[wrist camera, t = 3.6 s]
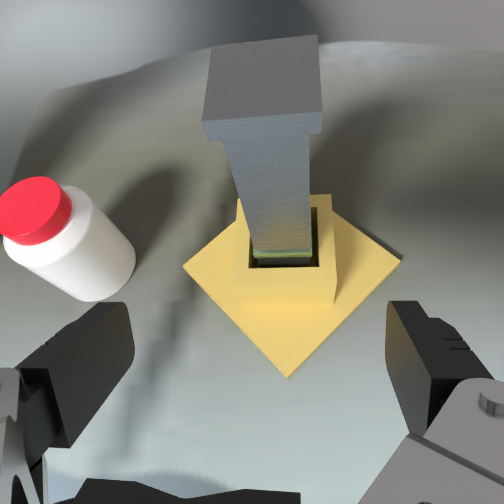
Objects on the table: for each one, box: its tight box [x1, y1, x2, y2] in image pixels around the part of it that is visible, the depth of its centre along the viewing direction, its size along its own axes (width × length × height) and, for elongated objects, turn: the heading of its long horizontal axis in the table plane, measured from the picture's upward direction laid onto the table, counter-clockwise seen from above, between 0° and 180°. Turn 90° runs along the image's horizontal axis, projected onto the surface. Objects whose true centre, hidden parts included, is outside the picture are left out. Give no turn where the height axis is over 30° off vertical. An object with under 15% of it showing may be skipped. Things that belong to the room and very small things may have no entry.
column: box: [202, 34, 322, 268], centre depth 25 cm, size 6×5×19 cm
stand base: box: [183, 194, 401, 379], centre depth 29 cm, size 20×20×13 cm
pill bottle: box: [0, 176, 136, 302], centre depth 33 cm, size 8×8×11 cm
